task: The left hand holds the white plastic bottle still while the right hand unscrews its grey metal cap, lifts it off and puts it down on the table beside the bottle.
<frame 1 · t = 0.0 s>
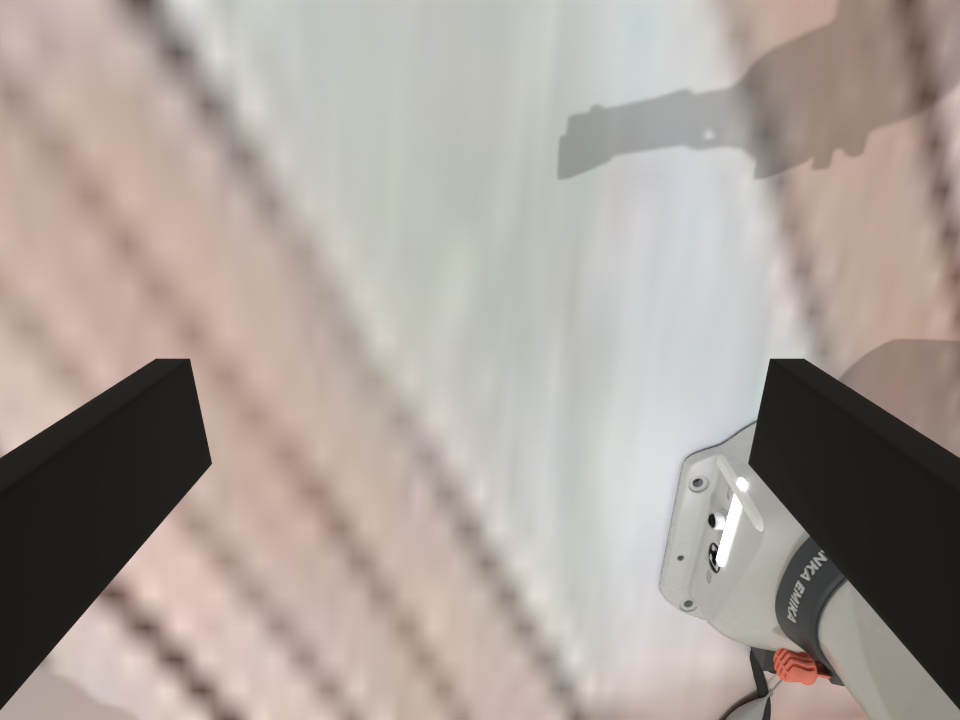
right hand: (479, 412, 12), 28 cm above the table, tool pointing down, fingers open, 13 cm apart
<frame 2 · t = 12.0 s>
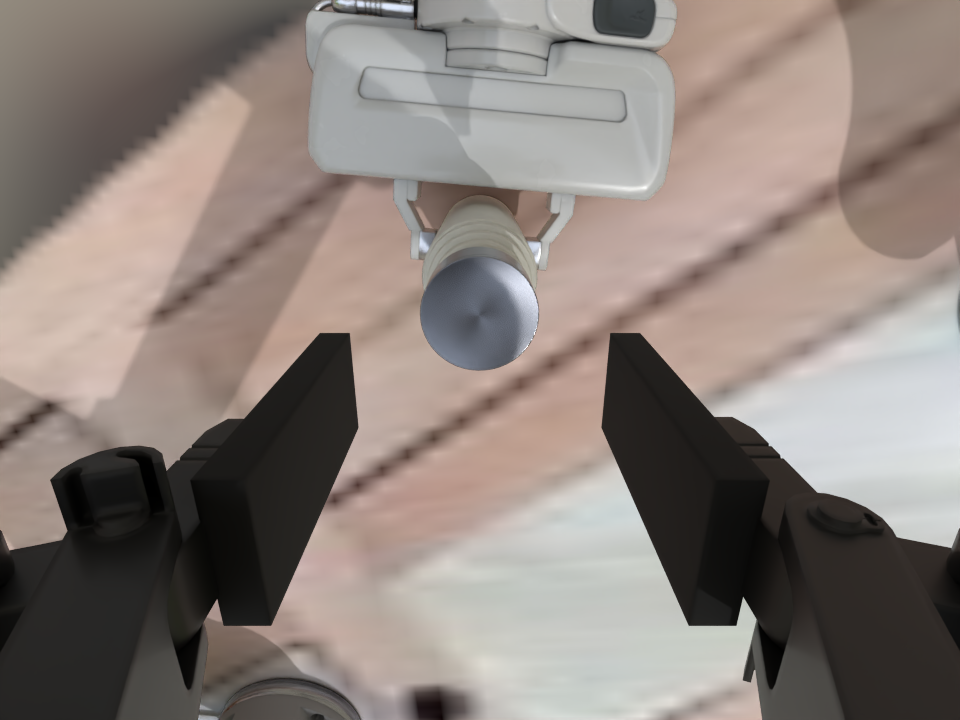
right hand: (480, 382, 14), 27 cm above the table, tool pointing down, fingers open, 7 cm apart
left hand: (479, 263, 33), fingers closed on bottle, 5 cm apart
bottle: (479, 234, 39), on the table, touching left hand
cap: (479, 313, 20), point 21 cm above the table, screwed on, not yet turned
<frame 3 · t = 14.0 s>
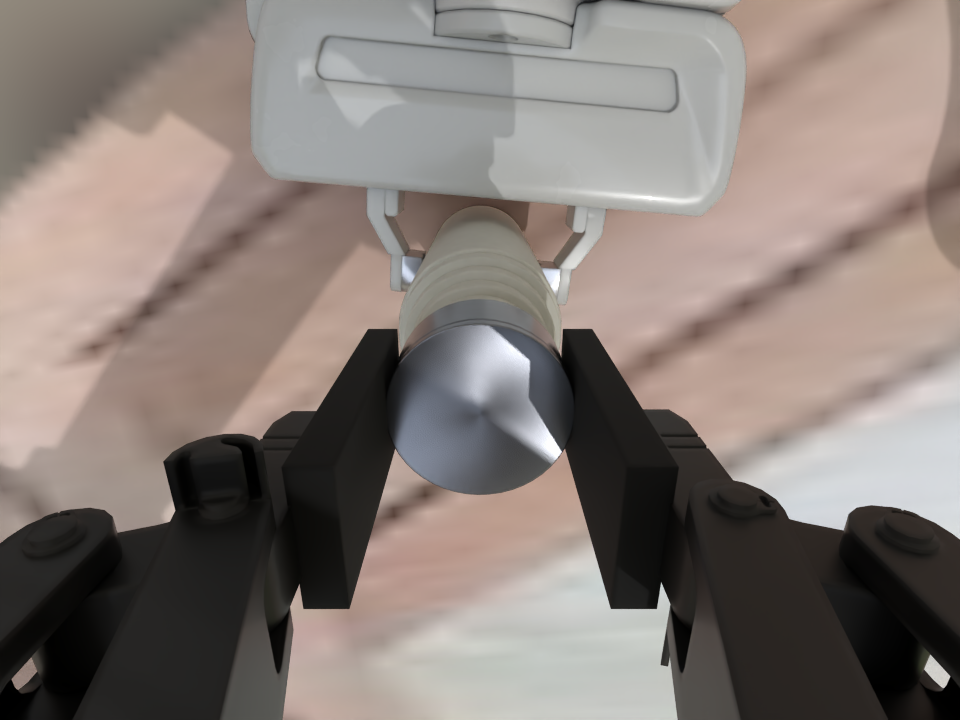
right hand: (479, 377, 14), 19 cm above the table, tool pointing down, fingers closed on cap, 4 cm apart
left hand: (479, 295, 26), fingers closed on bottle, 5 cm apart
bottle: (480, 253, 32), on the table, touching left hand
cap: (480, 409, 13), point 21 cm above the table, screwed on, not yet turned, touching right hand
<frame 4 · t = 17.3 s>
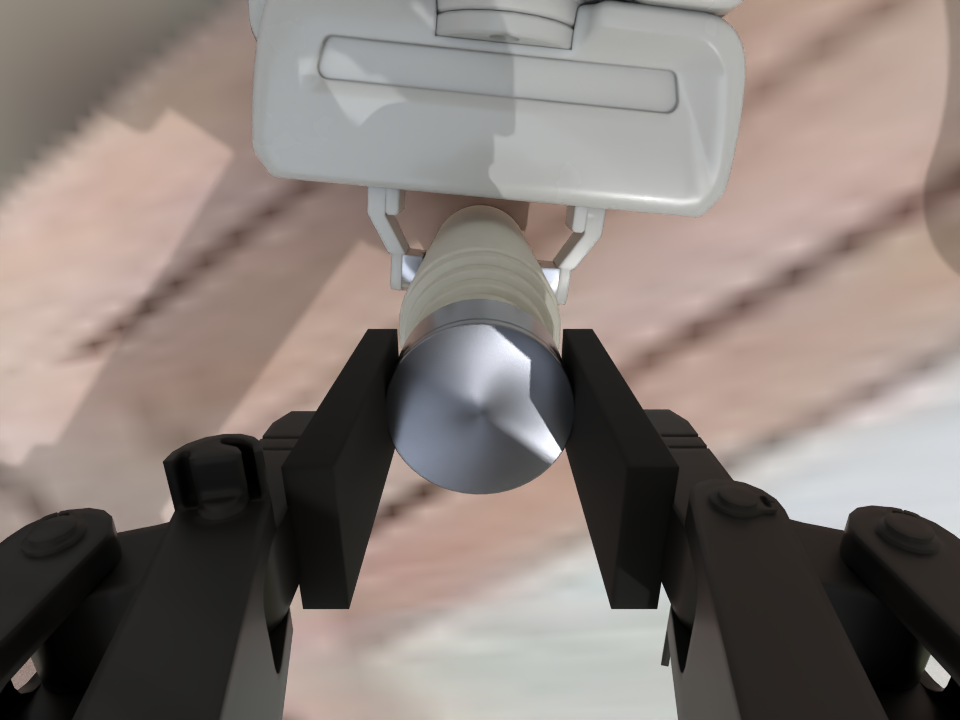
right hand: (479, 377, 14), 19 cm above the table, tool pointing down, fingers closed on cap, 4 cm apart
left hand: (479, 294, 26), fingers closed on bottle, 5 cm apart
bottle: (480, 253, 32), on the table, touching left hand
cap: (479, 408, 13), point 21 cm above the table, turned 104° so far, risen 0.1 cm, still on its thread, touching right hand
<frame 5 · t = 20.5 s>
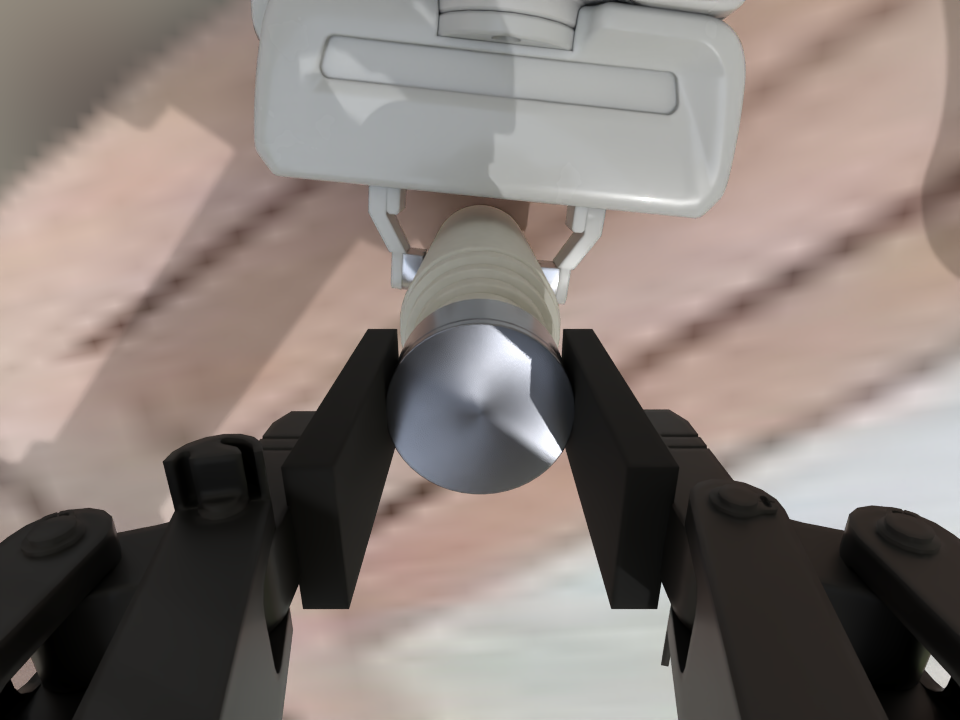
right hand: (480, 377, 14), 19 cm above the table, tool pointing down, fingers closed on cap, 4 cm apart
left hand: (479, 294, 26), fingers closed on bottle, 5 cm apart
bottle: (480, 252, 32), on the table, touching left hand
cap: (480, 408, 13), point 21 cm above the table, turned 208° so far, risen 0.2 cm, still on its thread, touching right hand
when the right hand's fingers open (1 cm above the table, at t = 33.3 s): cap stays where it is, point 2 cm above the table.
when the left hand's fingers open (7 cm above the table, at t = 34.7 s): bottle stays where it is, on the table.
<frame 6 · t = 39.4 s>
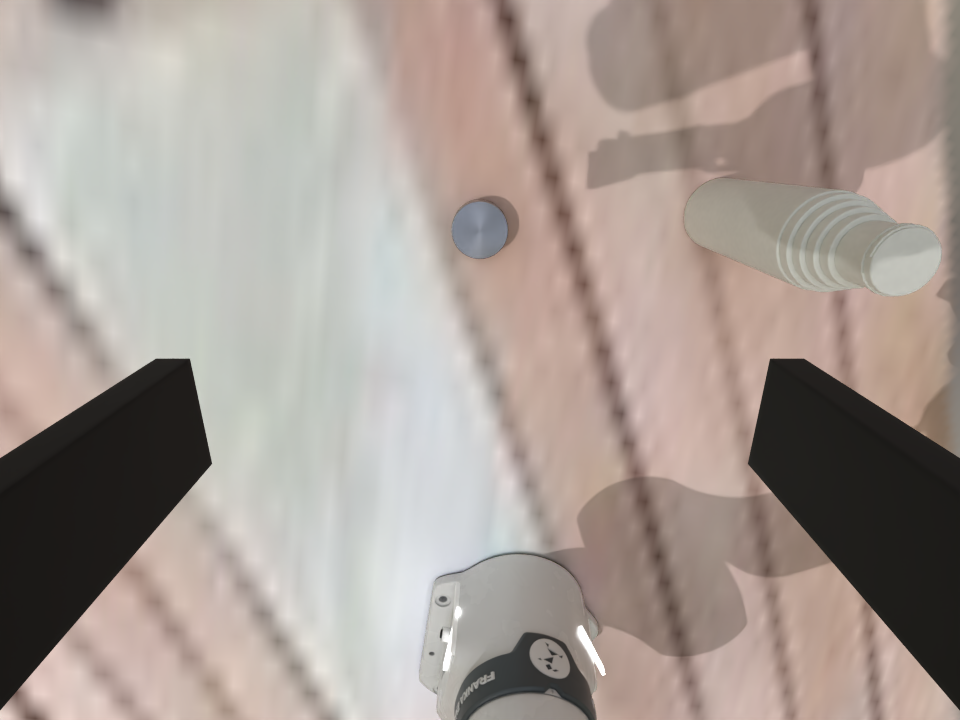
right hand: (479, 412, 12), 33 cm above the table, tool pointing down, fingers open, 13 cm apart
bottle: (717, 213, 43), on the table
cap: (479, 230, 42), point 2 cm above the table, off its thread
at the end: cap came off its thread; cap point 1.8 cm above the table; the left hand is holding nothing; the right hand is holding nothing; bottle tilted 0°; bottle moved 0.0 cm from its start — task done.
